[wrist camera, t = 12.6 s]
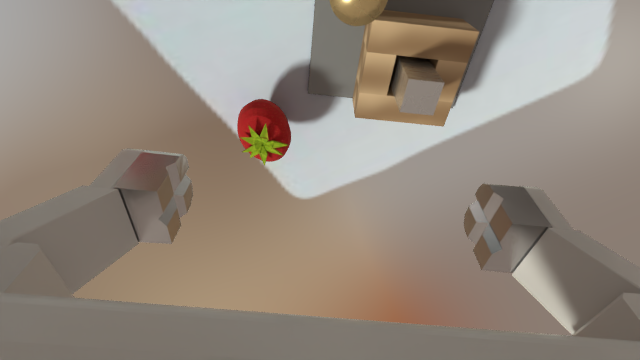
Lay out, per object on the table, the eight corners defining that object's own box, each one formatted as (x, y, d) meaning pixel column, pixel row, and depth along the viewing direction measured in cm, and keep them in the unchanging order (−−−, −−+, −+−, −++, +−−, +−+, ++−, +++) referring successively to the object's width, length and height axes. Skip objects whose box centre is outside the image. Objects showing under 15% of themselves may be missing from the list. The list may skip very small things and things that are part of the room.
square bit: (393, 47, 36) (408, 78, 29) (422, 50, 36) (444, 82, 29) (386, 75, 38) (399, 112, 31) (414, 78, 38) (433, 115, 31)
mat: (328, -165, 26) (328, -166, 26) (543, -136, 27) (546, -136, 27) (308, 92, 40) (307, 93, 40) (451, 106, 41) (452, 108, 41)
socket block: (368, 7, 34) (372, 19, 30) (462, 18, 34) (479, 31, 30) (352, 98, 40) (354, 117, 36) (432, 106, 40) (443, 126, 37)
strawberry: (284, 77, 39) (272, 116, 31) (301, 130, 44) (295, 177, 36) (238, 88, 40) (215, 129, 32) (259, 139, 45) (244, 186, 37)
